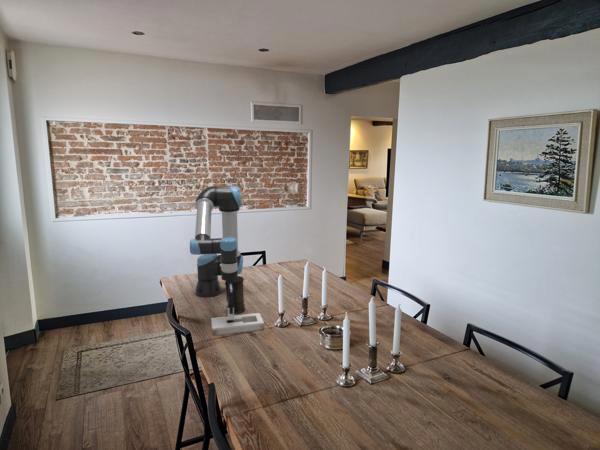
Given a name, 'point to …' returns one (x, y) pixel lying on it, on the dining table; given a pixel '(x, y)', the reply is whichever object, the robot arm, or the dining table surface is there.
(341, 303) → the dining table surface
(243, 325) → the keyhole board
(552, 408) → the dining table surface
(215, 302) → the dining table surface
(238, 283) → the container
